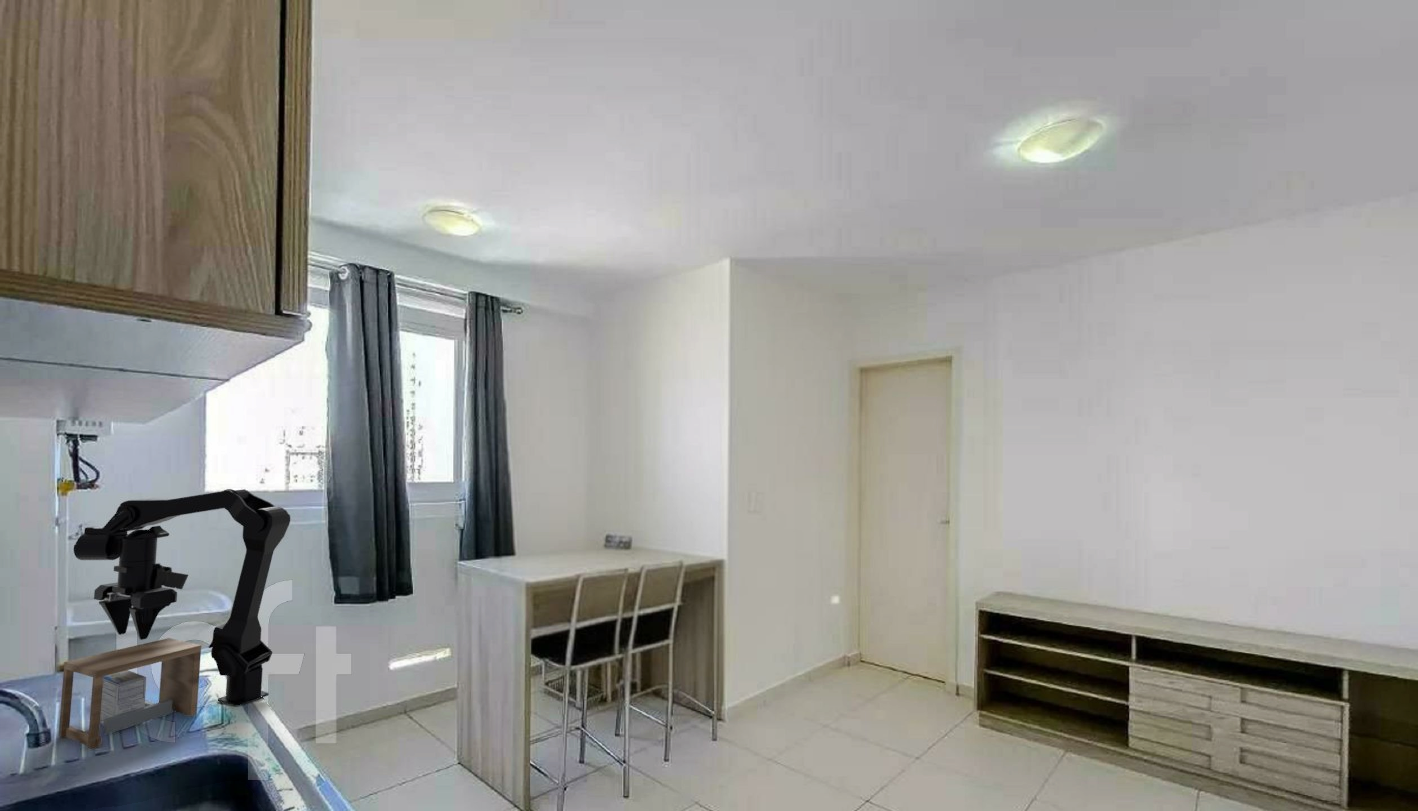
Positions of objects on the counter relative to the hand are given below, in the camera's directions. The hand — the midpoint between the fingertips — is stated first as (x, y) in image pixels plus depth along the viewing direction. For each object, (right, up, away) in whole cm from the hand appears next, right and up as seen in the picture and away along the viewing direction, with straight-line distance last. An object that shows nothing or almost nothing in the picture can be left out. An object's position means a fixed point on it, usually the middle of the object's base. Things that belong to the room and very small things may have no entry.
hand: (132, 636), depth 130 cm
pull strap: (+2, -12, -7) cm, 14 cm away
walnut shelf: (+11, -12, -12) cm, 20 cm away
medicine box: (+8, -13, -11) cm, 18 cm away
